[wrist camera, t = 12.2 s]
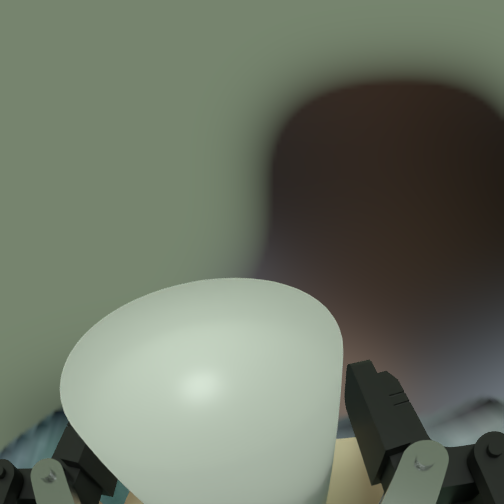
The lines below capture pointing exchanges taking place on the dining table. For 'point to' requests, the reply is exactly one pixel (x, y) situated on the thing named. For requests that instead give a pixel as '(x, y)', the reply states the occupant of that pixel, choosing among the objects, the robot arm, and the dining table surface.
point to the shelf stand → (340, 478)
